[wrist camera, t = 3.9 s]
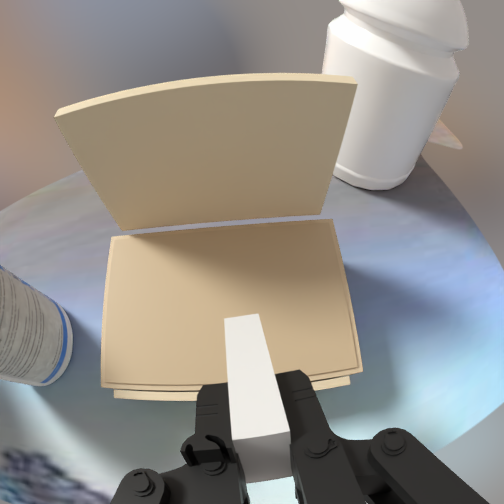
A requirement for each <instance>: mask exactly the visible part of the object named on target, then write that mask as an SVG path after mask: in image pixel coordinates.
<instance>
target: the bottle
mask: <svg viewBox="0 0 504 504" xmlns="http://www.w3.org/2000/svg"><path fill="white" fill-rule="evenodd" d="M338 1H339V2H340V3H341V4H342V5H343V7H344V8H345V10H344V14H342V15H341V16H339V17H338V18H336V19H333V21H332V22H331V23H330V24H329V25H328V30H327V41H326V49H325V56H324V64H323V70H322V74H327V75H340V76H351V77H353V78H354V79H355V81H356V82H357V84H358V85H357V89H356V93H355V97H354V101H353V105H352V108H351V112H350V116H349V119H348V123H347V127H346V130H345V134H344V137H343V141H342V144H341V148H340V151H339V155H338V158H337V161H336V165H335V168H334V171H333V175H334V176H335V177H337V178H339V179H341V180H343V181H345V182H347V183H349V184H351V185H353V186H357V187H361V188H365V189H369V190H389V189H391V188H393V187H396V186H398V185H400V184H402V183H403V182H404V181H405V180H406V178H407V177H408V176H409V174H410V173H411V172H412V170H413V169H414V167H415V163H416V161H417V159H418V157H419V156H420V154H421V152H422V150H423V148H424V146H425V145H426V143H427V141H428V139H429V137H430V135H431V133H432V131H433V129H434V127H435V125H436V123H437V121H438V119H439V117H440V115H441V113H442V111H443V109H444V107H445V105H446V102H447V100H448V98H449V96H450V94H451V92H452V90H453V88H454V86H455V84H456V82H457V81H458V78H459V75H460V72H459V70H458V68H457V66H456V63H455V60H454V58H453V54H454V52H455V51H460V50H464V49H465V48H466V47H467V46H468V44H469V38H468V23H467V19H466V15H465V12H464V9H463V7H462V4H461V2H460V0H338Z"/></svg>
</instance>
